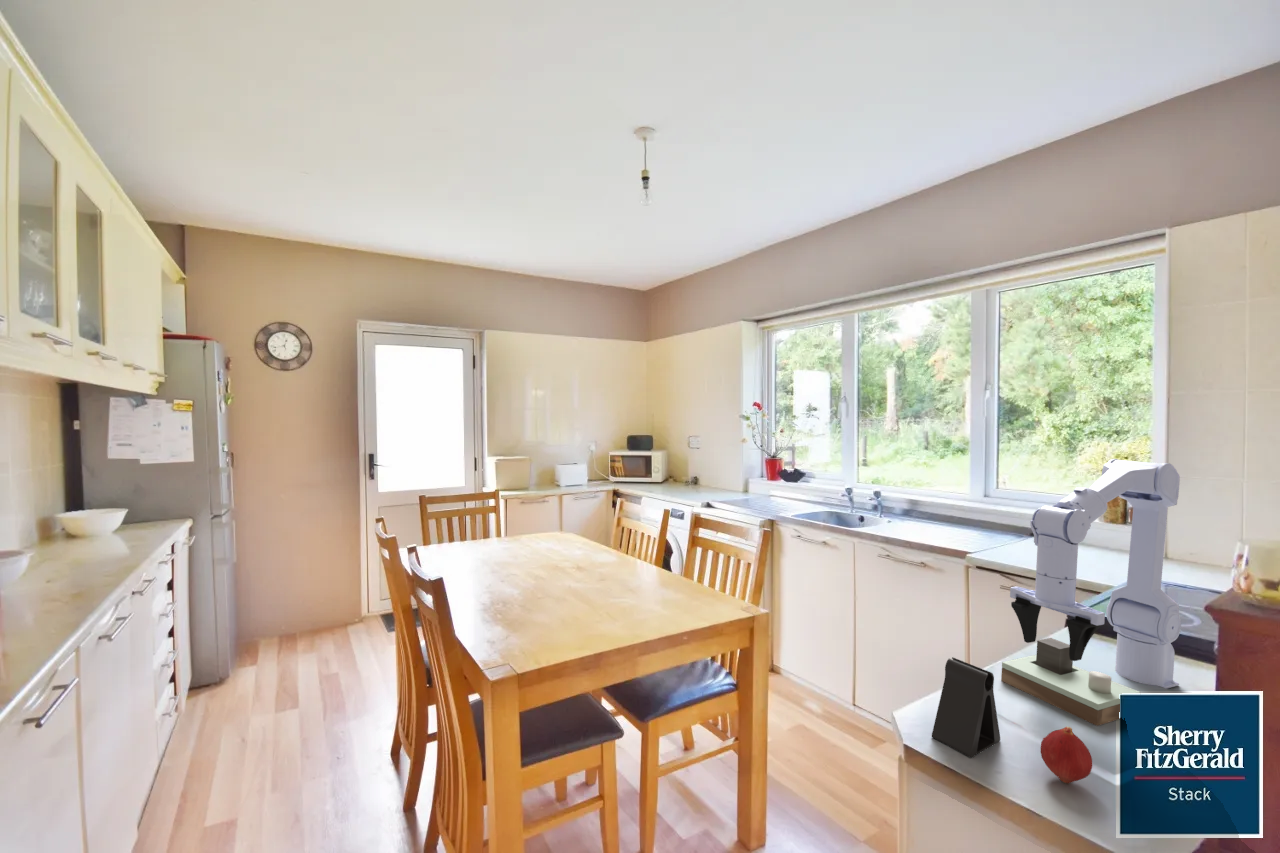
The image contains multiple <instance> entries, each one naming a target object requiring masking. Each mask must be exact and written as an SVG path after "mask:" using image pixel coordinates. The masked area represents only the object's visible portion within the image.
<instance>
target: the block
mask: <svg viewBox="0 0 1280 853" xmlns="http://www.w3.org/2000/svg"><path fill="white" fill-rule="evenodd" d="M1036 641H1037V642H1036V655H1037V656H1036V665H1038V666H1040V667H1042V668H1045V669H1047V670H1050V671H1052V672H1054V673H1057V674H1059V675H1063V674H1067V673H1071V672H1072V665H1073V666H1074V664H1073V663H1074V661H1073V660H1070V657H1069V648H1070V643H1065V642H1063V641H1060V640H1057V639H1054V638H1053V637H1048V638H1047V637H1046V638H1044V639H1042V638H1041V639H1038V640H1036Z"/></svg>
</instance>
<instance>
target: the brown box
mask: <svg viewBox="0 0 1280 853" xmlns="http://www.w3.org/2000/svg"><path fill="white" fill-rule="evenodd" d="M1000 681H1001V682H1003V683H1004V684H1007V685H1009V686H1010V687H1013V688H1015V689H1017V690H1019V691H1022V692H1024V693H1026V694H1028V695H1031V696H1033V697H1034V698H1036V699H1039V700H1041V701H1043V702H1045V703H1048V704H1050V705H1051V706H1054V707H1056V708H1058V709H1060V710H1062V711H1065V712H1066V713H1067V714H1068V713H1069V714H1070V715H1072V716H1074V717H1076V718H1079V719H1081V720H1083V721H1085V722H1088V723H1089V724H1091V725H1094V726H1096V727H1098V726H1102V725H1105V724H1108V723H1112V722H1114V721H1115V722H1116V721H1117V720H1120V719H1119V712H1120V704H1118V705H1114V706H1111V707H1108V708H1104V709H1101V710H1096V709H1094V708H1092V707H1089V706H1087V705H1085V704H1083V703H1080V702H1078V701H1076V700H1074V699H1072V698H1069V697H1067V696H1065V695H1063V694H1060V693H1058V692H1056V691H1054V690H1051V689H1049V688H1047V687H1045V686H1043V685H1040V684H1038V683H1036V682H1034V681H1031V680H1029V679H1027V678H1025V677H1022V676H1020V675H1018V674H1016V673H1014V672H1011V671H1009V670H1007V669H1005V668H1002V667H1001V679H1000Z"/></svg>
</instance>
